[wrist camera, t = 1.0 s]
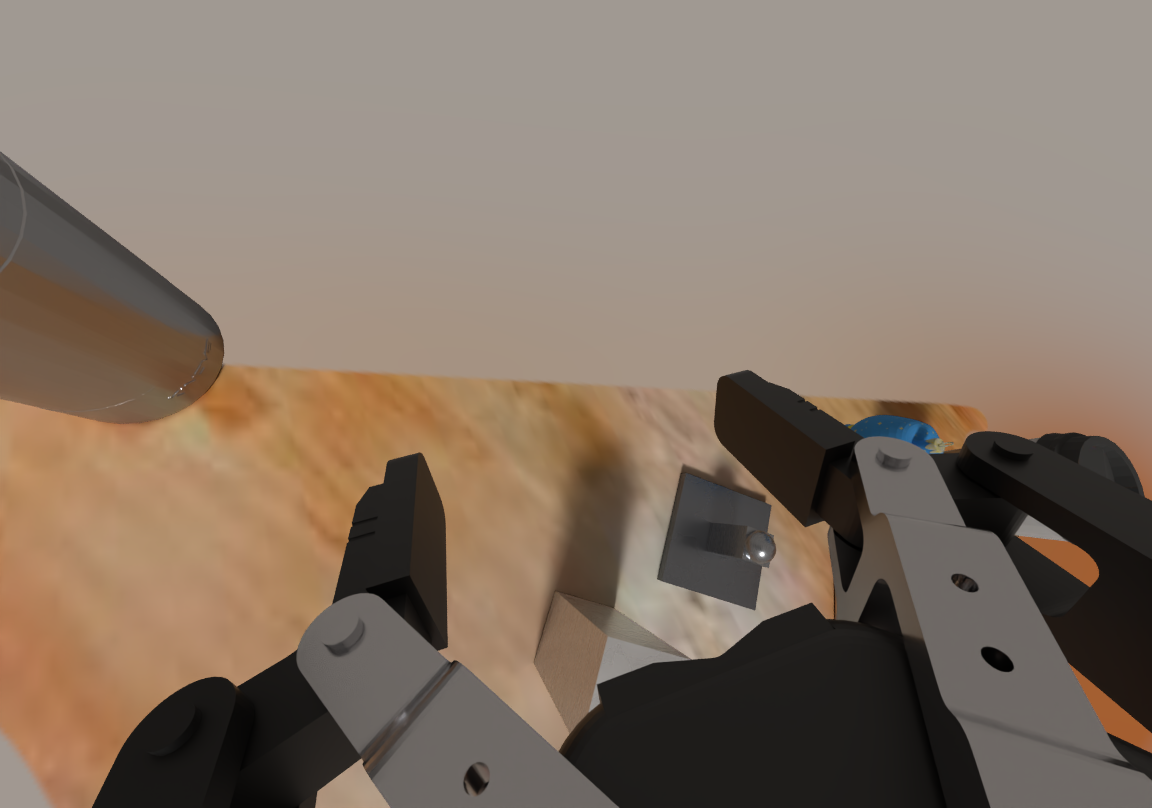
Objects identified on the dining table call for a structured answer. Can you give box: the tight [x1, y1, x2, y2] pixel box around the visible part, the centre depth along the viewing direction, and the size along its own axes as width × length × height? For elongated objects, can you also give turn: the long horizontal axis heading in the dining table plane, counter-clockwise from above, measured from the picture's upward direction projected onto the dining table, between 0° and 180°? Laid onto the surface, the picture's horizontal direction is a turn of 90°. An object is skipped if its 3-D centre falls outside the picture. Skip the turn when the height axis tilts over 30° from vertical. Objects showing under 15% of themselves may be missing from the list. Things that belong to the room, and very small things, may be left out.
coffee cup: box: [943, 433, 1145, 545], centre depth 36 cm, size 8×8×15 cm
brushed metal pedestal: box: [534, 591, 692, 733], centre depth 26 cm, size 5×5×11 cm
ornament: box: [845, 415, 954, 454], centre depth 32 cm, size 5×5×15 cm
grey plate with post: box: [657, 473, 776, 610], centre depth 33 cm, size 9×9×7 cm
